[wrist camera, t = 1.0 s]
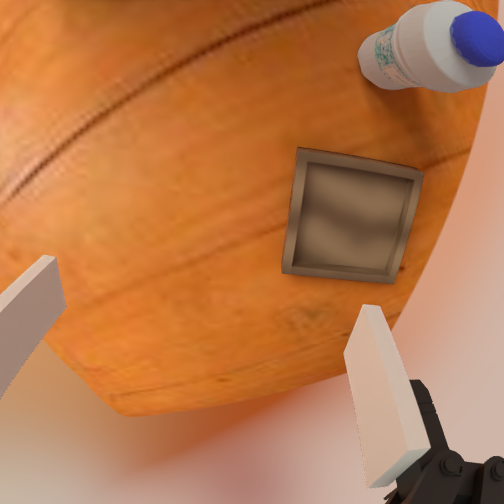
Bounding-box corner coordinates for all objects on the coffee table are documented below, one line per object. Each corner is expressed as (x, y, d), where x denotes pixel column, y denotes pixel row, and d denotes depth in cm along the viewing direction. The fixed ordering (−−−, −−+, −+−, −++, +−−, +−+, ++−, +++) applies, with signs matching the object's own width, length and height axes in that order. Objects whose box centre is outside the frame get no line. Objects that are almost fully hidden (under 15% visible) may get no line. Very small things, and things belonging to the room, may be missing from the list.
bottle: (347, 83, 29) (438, 68, 11) (355, 27, 26) (444, -40, 8) (404, 99, 29) (529, 115, 11) (412, 45, 26) (534, 17, 8)
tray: (297, 146, 32) (298, 150, 30) (415, 168, 32) (424, 173, 30) (281, 263, 39) (281, 273, 37) (388, 274, 38) (393, 284, 36)
